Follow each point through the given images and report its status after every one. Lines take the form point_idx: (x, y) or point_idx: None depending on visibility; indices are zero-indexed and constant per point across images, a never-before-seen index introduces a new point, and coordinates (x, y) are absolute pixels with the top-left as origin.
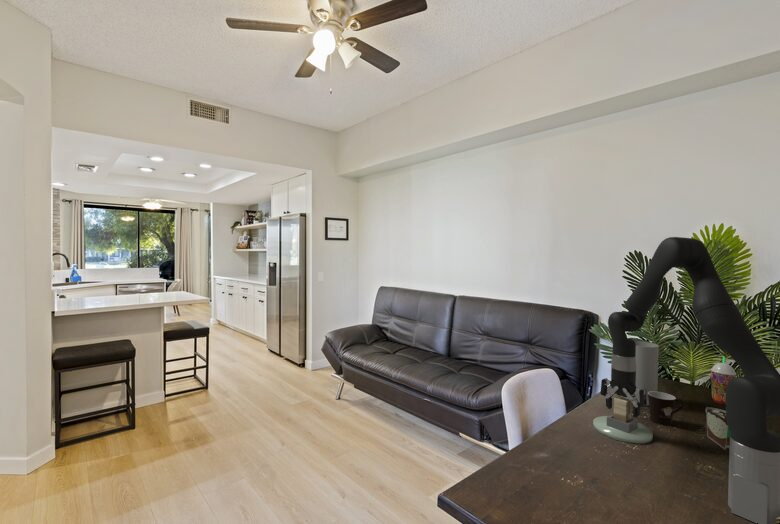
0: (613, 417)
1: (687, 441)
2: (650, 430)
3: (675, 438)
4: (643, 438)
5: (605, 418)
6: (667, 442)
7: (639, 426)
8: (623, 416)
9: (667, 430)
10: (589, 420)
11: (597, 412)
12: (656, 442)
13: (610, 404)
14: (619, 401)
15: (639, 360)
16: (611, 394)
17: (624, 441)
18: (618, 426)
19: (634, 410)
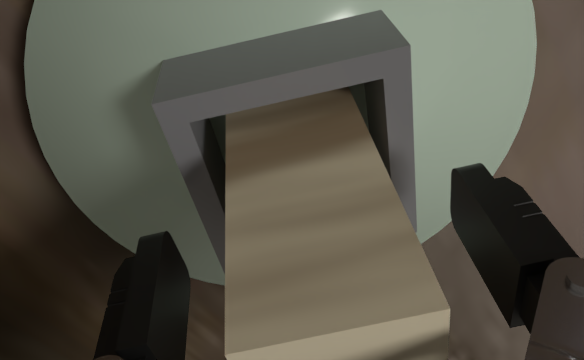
0: (383, 141)
1: (42, 343)
2: None
3: (89, 321)
4: (35, 98)
5: (468, 140)
6: (41, 246)
7: None
8: (253, 167)
9: (189, 354)
10: (567, 20)
11: (571, 209)
12: (49, 183)
13: (475, 227)
14: (340, 304)
15: None
16: (536, 357)
17: None
18: (262, 52)
19: (135, 302)
